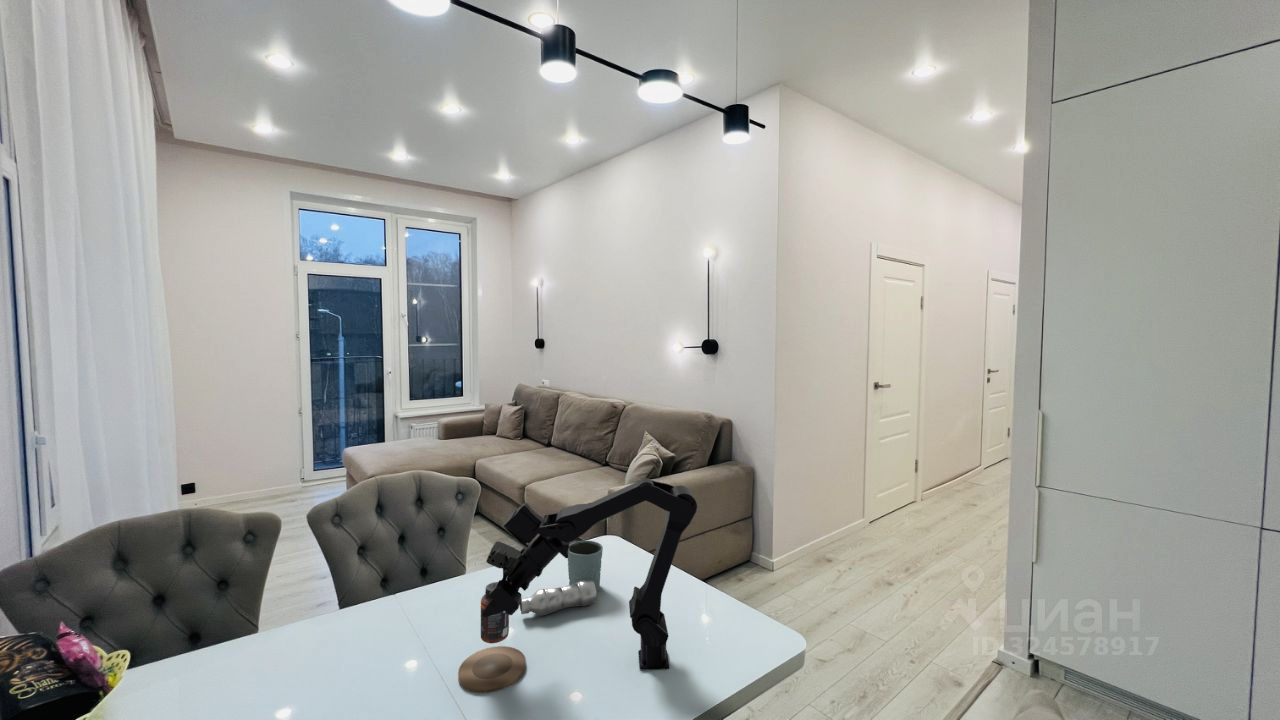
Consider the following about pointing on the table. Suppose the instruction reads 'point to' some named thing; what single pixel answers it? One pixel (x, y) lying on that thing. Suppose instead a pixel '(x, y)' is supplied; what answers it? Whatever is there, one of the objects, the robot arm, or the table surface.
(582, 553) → the grey-green cup
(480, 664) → the disc
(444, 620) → the table surface
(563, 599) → the plastic bottle
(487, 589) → the supplement bottle
